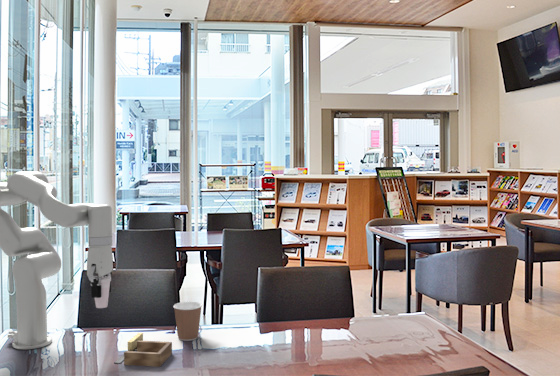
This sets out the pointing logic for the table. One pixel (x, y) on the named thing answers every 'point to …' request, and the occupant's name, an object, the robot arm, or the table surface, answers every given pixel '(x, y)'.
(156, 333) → the table surface
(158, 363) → the cradle
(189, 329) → the coffee cup
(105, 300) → the smoothie
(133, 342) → the lock bar
